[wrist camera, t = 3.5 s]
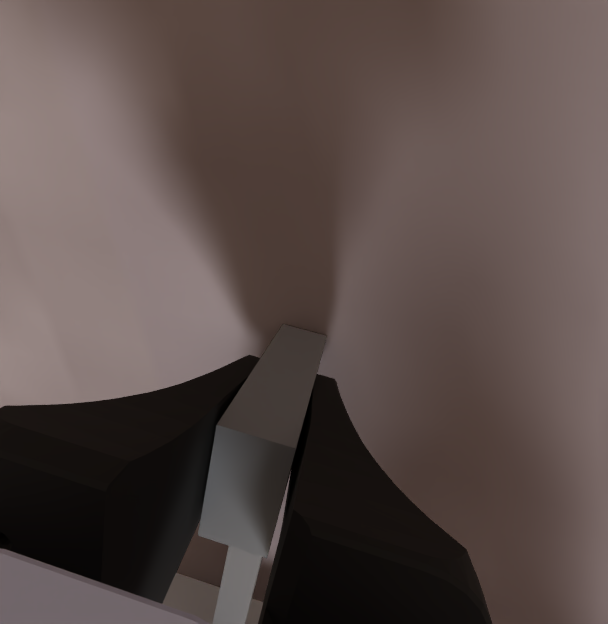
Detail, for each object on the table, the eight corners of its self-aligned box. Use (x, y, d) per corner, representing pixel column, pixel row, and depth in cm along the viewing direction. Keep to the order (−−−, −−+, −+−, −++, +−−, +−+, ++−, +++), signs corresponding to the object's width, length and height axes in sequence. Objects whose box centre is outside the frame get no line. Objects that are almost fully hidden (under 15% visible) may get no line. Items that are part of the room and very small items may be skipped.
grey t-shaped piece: (417, 360, 12) (463, 499, 6) (315, 637, 17) (291, 853, 11) (198, 300, 13) (67, 379, 7) (161, 584, 18) (66, 763, 12)
